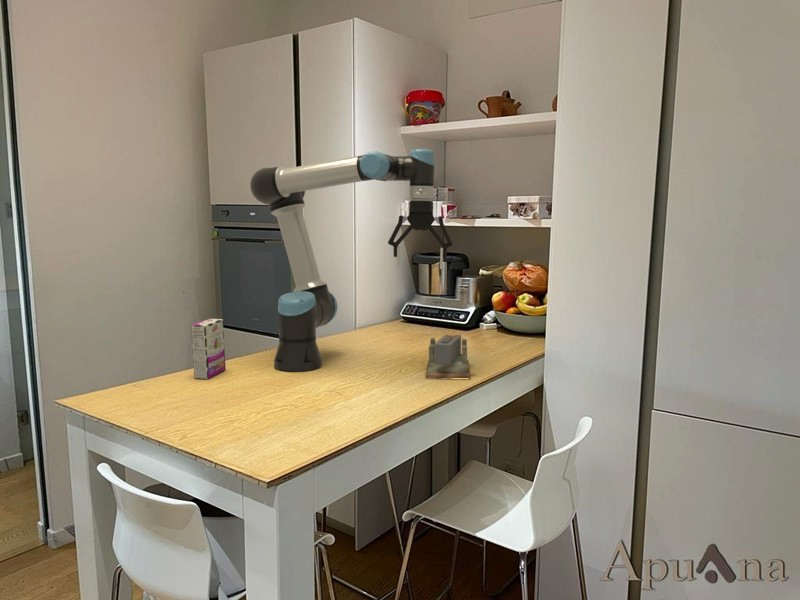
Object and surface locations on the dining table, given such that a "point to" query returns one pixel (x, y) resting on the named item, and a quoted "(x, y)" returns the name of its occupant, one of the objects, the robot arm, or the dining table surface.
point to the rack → (454, 370)
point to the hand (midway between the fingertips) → (419, 268)
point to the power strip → (447, 349)
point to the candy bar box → (208, 348)
